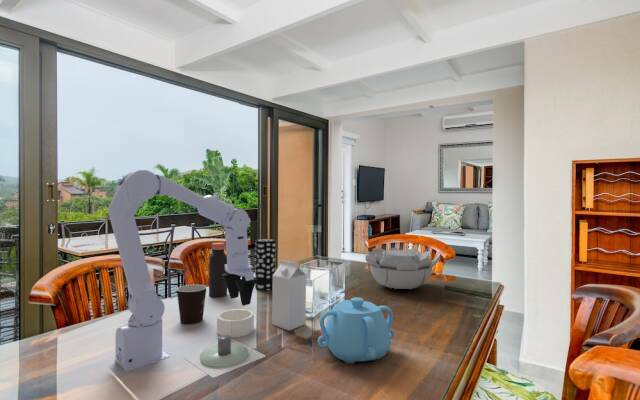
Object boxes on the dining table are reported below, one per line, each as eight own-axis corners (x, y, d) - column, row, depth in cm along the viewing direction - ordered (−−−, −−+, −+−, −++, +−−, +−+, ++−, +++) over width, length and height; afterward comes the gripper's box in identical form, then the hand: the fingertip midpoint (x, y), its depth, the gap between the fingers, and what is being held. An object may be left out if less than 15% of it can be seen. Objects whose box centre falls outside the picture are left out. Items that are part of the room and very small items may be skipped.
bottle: (222, 298, 132) (222, 244, 132) (205, 297, 133) (205, 244, 133) (230, 293, 139) (230, 242, 138) (213, 292, 140) (214, 241, 140)
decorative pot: (370, 378, 75) (371, 314, 75) (310, 356, 85) (311, 300, 84) (400, 351, 88) (401, 297, 88) (346, 335, 98) (346, 286, 98)
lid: (215, 372, 76) (215, 352, 76) (191, 356, 83) (191, 337, 83) (257, 356, 84) (257, 337, 84) (231, 342, 91) (231, 325, 91)
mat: (213, 380, 74) (213, 377, 74) (182, 358, 83) (182, 356, 83) (266, 357, 84) (266, 355, 84) (233, 341, 93) (233, 339, 93)
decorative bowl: (351, 281, 159) (352, 248, 159) (409, 277, 168) (409, 246, 168) (383, 300, 130) (383, 260, 130) (451, 294, 139) (451, 256, 139)
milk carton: (288, 319, 110) (289, 258, 110) (305, 324, 106) (306, 261, 105) (271, 325, 105) (272, 261, 104) (289, 331, 100) (289, 264, 100)
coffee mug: (196, 326, 103) (196, 292, 103) (170, 324, 105) (170, 290, 105) (216, 313, 115) (216, 283, 114) (192, 311, 116) (192, 281, 116)
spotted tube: (252, 286, 148) (253, 239, 148) (271, 284, 152) (272, 238, 152) (258, 291, 141) (258, 241, 141) (278, 289, 144) (278, 240, 144)
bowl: (229, 342, 93) (230, 323, 93) (210, 332, 99) (210, 314, 99) (260, 332, 100) (260, 314, 100) (240, 323, 107) (240, 306, 107)
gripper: (263, 253, 93) (265, 304, 94) (239, 246, 105) (242, 291, 105) (238, 257, 89) (241, 310, 89) (216, 250, 100) (219, 297, 101)
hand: (240, 301), depth 97 cm, fingers open, 7 cm apart
